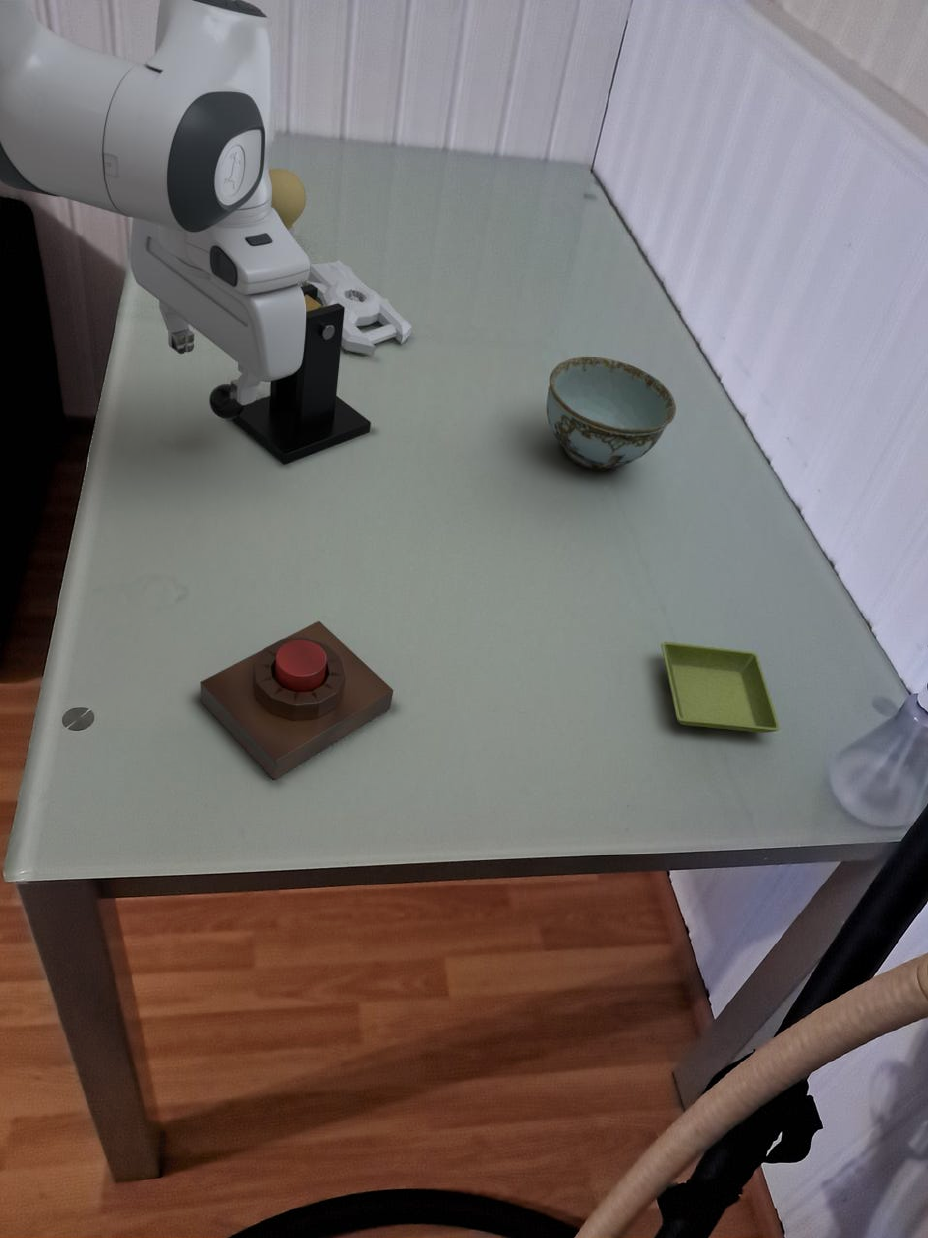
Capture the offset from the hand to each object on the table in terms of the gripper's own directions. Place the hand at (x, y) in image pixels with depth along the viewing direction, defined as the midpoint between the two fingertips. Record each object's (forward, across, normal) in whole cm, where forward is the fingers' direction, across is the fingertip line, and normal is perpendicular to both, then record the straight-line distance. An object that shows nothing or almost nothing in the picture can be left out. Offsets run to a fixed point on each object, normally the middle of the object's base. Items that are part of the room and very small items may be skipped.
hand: (211, 374), depth 86 cm
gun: (+8, -14, +30) cm, 34 cm away
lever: (+1, +1, +7) cm, 7 cm away
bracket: (+8, +1, +10) cm, 14 cm away
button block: (+9, +29, -13) cm, 33 cm away
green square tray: (+8, +50, +15) cm, 53 cm away
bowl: (+8, +21, +34) cm, 41 cm away
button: (+5, +29, -13) cm, 32 cm away
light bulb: (+8, -32, +33) cm, 47 cm away
